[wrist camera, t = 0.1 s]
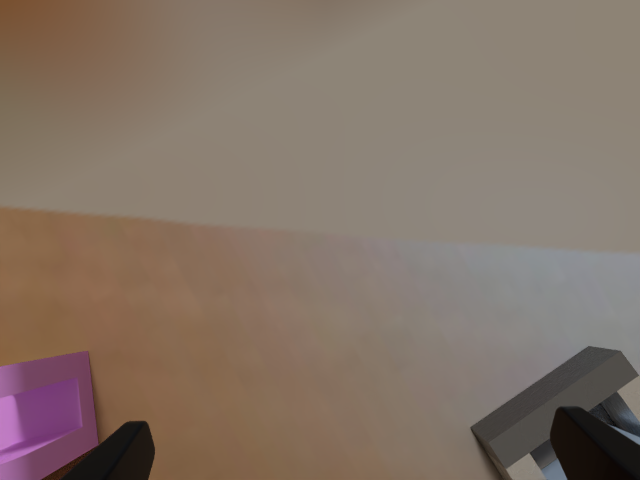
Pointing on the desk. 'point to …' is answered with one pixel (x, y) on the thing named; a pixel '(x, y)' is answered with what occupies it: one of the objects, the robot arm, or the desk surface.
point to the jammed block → (555, 471)
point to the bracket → (45, 415)
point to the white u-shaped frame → (552, 392)
